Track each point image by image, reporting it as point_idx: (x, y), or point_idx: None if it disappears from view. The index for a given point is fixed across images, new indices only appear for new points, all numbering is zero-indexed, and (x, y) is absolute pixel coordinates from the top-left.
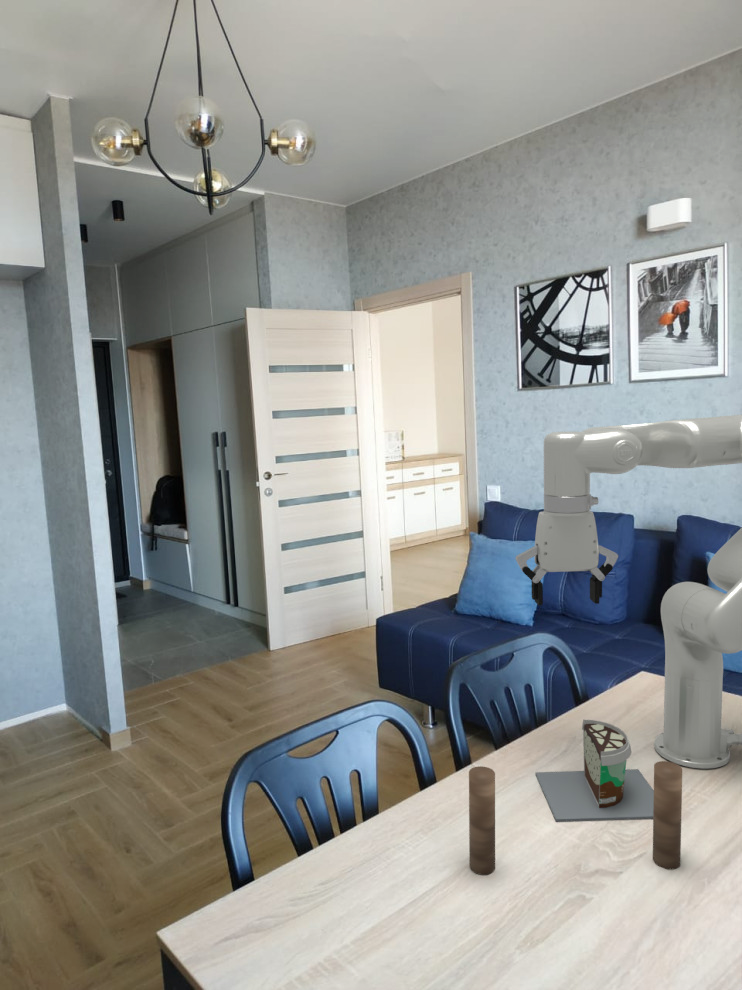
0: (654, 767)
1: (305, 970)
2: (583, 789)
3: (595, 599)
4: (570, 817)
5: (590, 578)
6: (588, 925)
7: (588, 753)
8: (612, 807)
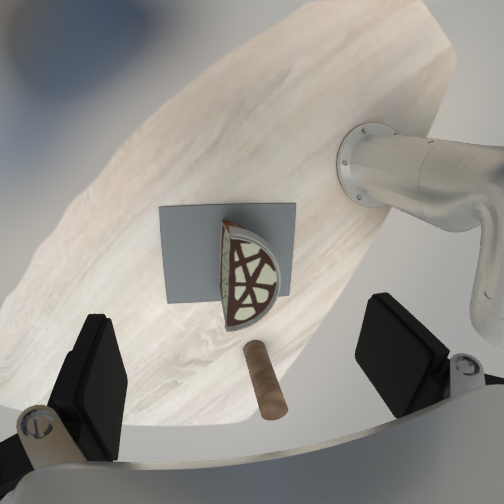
0: (261, 412)
1: None
2: (211, 248)
3: (362, 367)
4: (183, 301)
5: (426, 365)
6: (175, 400)
7: (225, 252)
8: None
